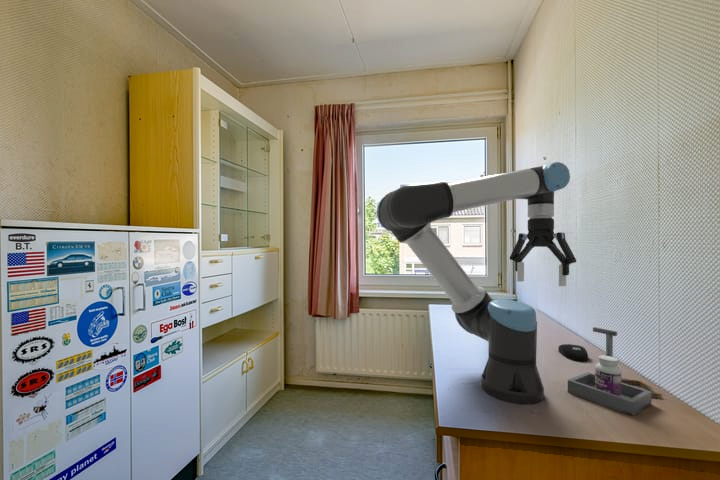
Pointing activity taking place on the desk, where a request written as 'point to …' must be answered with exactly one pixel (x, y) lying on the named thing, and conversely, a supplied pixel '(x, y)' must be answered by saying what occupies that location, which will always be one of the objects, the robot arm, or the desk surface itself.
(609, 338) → the t stake
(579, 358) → the computer mouse
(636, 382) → the collar
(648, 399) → the tray
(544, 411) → the desk surface
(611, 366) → the pill bottle
